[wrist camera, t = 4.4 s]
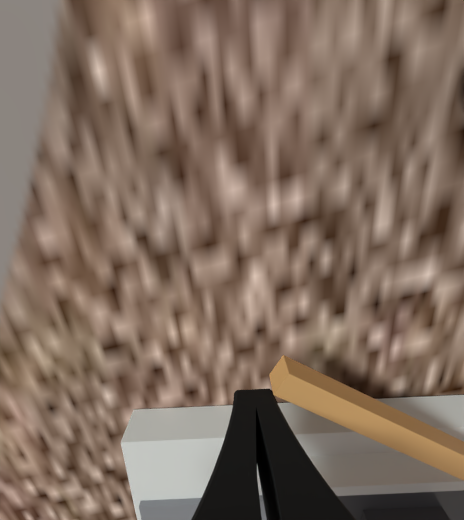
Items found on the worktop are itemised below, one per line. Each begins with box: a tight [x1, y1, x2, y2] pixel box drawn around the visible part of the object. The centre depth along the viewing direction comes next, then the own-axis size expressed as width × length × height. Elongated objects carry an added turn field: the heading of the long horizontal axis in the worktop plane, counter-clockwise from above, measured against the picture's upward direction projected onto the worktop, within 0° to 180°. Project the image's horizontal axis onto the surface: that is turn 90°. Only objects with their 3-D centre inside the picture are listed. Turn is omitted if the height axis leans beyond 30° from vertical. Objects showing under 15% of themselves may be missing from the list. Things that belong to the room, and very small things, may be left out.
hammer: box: [269, 355, 464, 480], centre depth 12 cm, size 18×2×3 cm, turn 61°
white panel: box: [121, 395, 464, 520], centre depth 16 cm, size 24×12×4 cm, turn 92°
